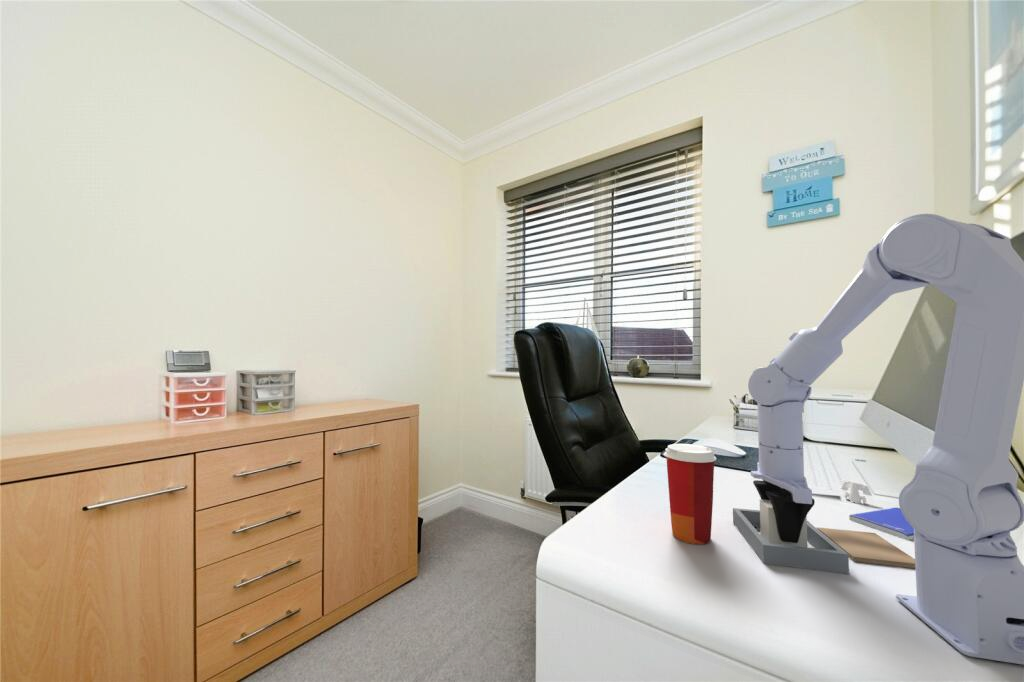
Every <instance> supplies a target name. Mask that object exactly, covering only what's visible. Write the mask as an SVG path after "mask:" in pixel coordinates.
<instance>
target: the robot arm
mask: <svg viewBox="0 0 1024 682" xmlns="http://www.w3.org/2000/svg"><path fill="white" fill-rule="evenodd" d="M930 285H931V286H932V287H934V288H936V289H937V290H938V291H940V292H941V293H942V294H945V295H946V296H947V297H948V298H950V299H952V300H953V301H954V302H955V303H956V309H955V315H954V321H953V326H952V332H951V338H950V344H949V350H948V355H947V360H946V367H945V372H944V378H943V382H942V389H941V393H940V400H939V407H938V413H937V417H936V423H935V429H934V435H933V440H932V445H931V447H930V448H929V449H928V451H927V452H925V454H924V455H923V457H922V458H921V459H920V460H919V461H918V462H917V463H916V465H915V466H916V467H915V472H914V475H913V478H912V479H911V481H910V482H909V483H907V484H906V485H904V487H903V488H902V489H901V490H900V492H899V495H898V506H899V508H900V510H901V512H902V514H903V516H904V517H905V519H906V520H907V521H908V523H909V524H910V525H911V526H912V527H913V528H914V539H913V541H914V543H913V544H914V546H913V547H914V559H915V567H916V568H915V583H916V584H915V587H916V596H915V595H908V594H901V593H900V594H899V593H898V594H896V595H895V599H897V600H898V601H899V602H900V603H902V604H903V605H904V606H905V607H906V608H907V609H909V610H910V611H911V612H912V613H913V614H914V615H916V616H917V617H918V618H919V619H920V620H921V621H923V622H924V623H925V624H927V625H928V626H929V627H930V628H931V629H933V630H934V631H935V632H936V633H937V634H938V635H940V636H941V637H942V638H943V639H944V640H946V641H947V642H948V643H950V645H951V646H953V647H954V648H955V649H957V651H959V652H960V653H962V655H965V656H968V657H970V658H971V657H972V658H977V659H978V658H979V659H983V660H984V659H986V660H991V661H999V662H1003V663H1004V662H1005V663H1008V664H1009V663H1010V664H1018V665H1023V666H1024V564H1023V563H1022V562H1021V559H1020V557H1019V556H1018V546H1016V542H1015V541H1014V539H1013V537H1012V536H1011V532H1013V531H1015V530H1018V529H1019V528H1021V526H1022V525H1023V524H1024V502H1023V500H1022V498H1021V496H1020V494H1019V491H1018V479H1019V474H1018V471H1017V469H1016V467H1014V466H1013V464H1012V463H1011V461H1010V458H1009V456H1010V454H1011V453H1010V452H1011V448H1012V443H1013V442H1012V441H1013V439H1014V432H1015V427H1016V423H1017V421H1016V420H1017V417H1018V414H1019V413H1018V411H1019V407H1020V402H1021V397H1022V392H1023V387H1024V260H1023V258H1021V256H1020V255H1019V254H1018V253H1017V251H1016V250H1015V248H1013V246H1012V242H1011V238H1010V237H1008V236H1006V235H1004V234H1001V233H1000V232H998V231H995V230H993V229H990V228H988V227H986V226H984V225H981V224H977V223H966V222H962V221H957V220H953V219H949V218H947V217H945V216H941V215H939V214H934V213H920V214H919V213H918V214H915V215H911V216H908V217H905V218H903V219H901V220H899V221H897V222H896V223H895V224H893V225H892V226H890V228H889V229H888V230H887V231H886V232H885V233H884V235H883V237H882V238H881V240H880V242H877V243H876V244H875V245H874V246H872V248H870V249H869V250H868V252H867V254H866V256H865V260H864V262H863V264H862V267H861V269H860V270H859V272H858V273H857V274H856V275H855V276H854V278H853V279H852V281H851V282H850V283H849V284H848V286H847V287H846V288H845V290H844V291H843V292H842V293H841V294H840V295H839V297H838V298H837V299H836V300H835V302H834V303H833V304H832V306H831V307H830V308H829V310H827V312H826V313H825V314H824V316H823V317H822V318H821V320H820V321H819V322H818V323H817V324H816V326H815V327H807V328H802V329H801V330H800V331H798V332H793V333H792V334H791V335H790V336H789V337H788V340H789V341H790V342H789V343H788V344H787V345H786V346H785V348H783V350H782V351H781V352H780V353H779V354H778V355H777V356H776V357H774V358H772V359H771V360H770V361H769V364H768V365H767V366H761V367H758V368H756V369H754V370H753V371H752V374H751V375H750V377H749V379H748V385H747V386H748V392H749V394H750V396H751V397H752V399H753V400H754V401H755V402H756V403H757V404H756V405H757V435H758V437H757V438H758V441H757V442H758V443H757V444H758V461H757V463H756V467H757V469H756V470H751V471H750V476H751V477H753V478H754V479H755V480H753V482H752V483H753V485H754V487H755V489H756V491H757V492H758V495H759V497H760V500H770V502H771V504H772V507H773V510H774V513H775V518H776V524H777V530H778V534H779V537H780V540H781V541H783V542H791V543H798V540H799V537H800V533H801V529H802V526H803V523H804V520H805V518H806V516H808V514H809V513H810V511H811V509H812V508H813V507H814V506H815V499H814V498H813V491H812V489H811V488H809V486H808V482H807V477H806V476H805V467H804V466H805V462H804V461H805V460H804V431H803V429H804V428H803V427H804V426H803V413H805V412H804V411H805V410H804V409H805V407H804V406H805V403H806V402H807V400H809V399H810V397H811V394H812V389H813V388H812V384H814V382H815V381H816V380H817V379H819V377H820V376H822V375H823V374H824V373H825V372H826V370H828V369H829V368H830V367H831V365H832V364H834V363H835V362H836V361H837V360H838V358H840V357H841V355H843V352H844V349H843V344H842V342H843V340H844V339H846V338H847V336H848V335H850V333H851V332H853V330H855V329H856V328H857V327H858V326H860V324H862V322H863V321H864V320H866V319H867V318H868V317H870V315H872V314H873V312H875V311H876V310H877V309H878V308H879V307H880V306H881V305H882V304H884V302H885V301H887V300H888V299H889V298H891V297H892V296H893V295H895V294H899V293H904V292H908V291H912V290H916V289H920V288H924V287H928V286H930ZM757 479H758V480H757Z"/></svg>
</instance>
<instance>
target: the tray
mask: <svg viewBox="0 0 1024 682" xmlns="http://www.w3.org/2000/svg"><path fill="white" fill-rule="evenodd" d="M732 523H733V524H734V526H735V527H736V529H737V530H738V531H739V532H740V533H741V535H742V536H743V538H744V539H745V540H746V541H747V544H749V546H750V547H751V549H752V550H753V552H754V553H755V554H756V555H757V556H758V558H759V559H760V561H762V563H763V564H764V565H765V564H767V565H775V566H783V567H791V568H800V569H807V570H816V571H822V572H823V571H824V572H831V573H840V574H841V573H842V574H850V562H849V559H850V558H849V557H848V554H847V553H846V552H845V551H844V550H842V549H841V548H840V547H839V546H838V545H836V544H835V543H834V542H833V541H831V540H830V539H829V538H828V537H827V536H825V535H824V534H823V533H822V532H820V531H819V530H818V529H817V527H816V526H814V525H813V524H812V523H810V521H808V520H807V543H808V544H810V545H811V546H812V547H809V546H808V547H799V546H790V545H781V544H772V543H767V542H766V541H765V540H764V538H763V537H762V536H761V535H760V532H759V531H758V530H757V529H756V528H760V509H747V508H736V507H733V508H732ZM755 527H756V528H755Z"/></svg>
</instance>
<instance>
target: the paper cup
mask: <svg viewBox="0 0 1024 682" xmlns="http://www.w3.org/2000/svg"><path fill="white" fill-rule="evenodd" d="M663 456H664V457H666V469H667V485H668V487H667V488H668V497H669V499H668V501H669V512H670V521H671V524H670V525H671V532H672V536H673V537H674V538H675V539H677V540H679V541H681V542H683V543H687V544H691V545H707V544H709V543H710V542H711V538H712V526H713V525H712V524H713V523H712V522H713V505H714V475H715V474H714V473H715V462H716V461H717V457H716V456H715V454H714V451H713V450H712V449H711V448H710V447H707V446H704V445H700V444H698V445H697V444H690V443H672V444H668V445H667V448H665V452H664V453H663Z"/></svg>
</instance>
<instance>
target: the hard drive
mask: <svg viewBox="0 0 1024 682" xmlns="http://www.w3.org/2000/svg"><path fill="white" fill-rule="evenodd" d="M848 517H849V518H848V519H849V521H851V522H852V521H853V522H855V523H857V524H860V525H864V526H867V527H868V528H872V529H874V530H878V531H881V532H883V533H886V534H890V535H893V536H895V537H898V538H900V539H904V540H907V541H910V540H914V528H913V527H912V526H911V525H910V524H909V523H908V521H907V520H906V519H905V517H904V516H903V514H902V512H901V510H900V507H890V508H885V509H878V510H871V511H866V512H858V513H854V514H849V516H848Z"/></svg>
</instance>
